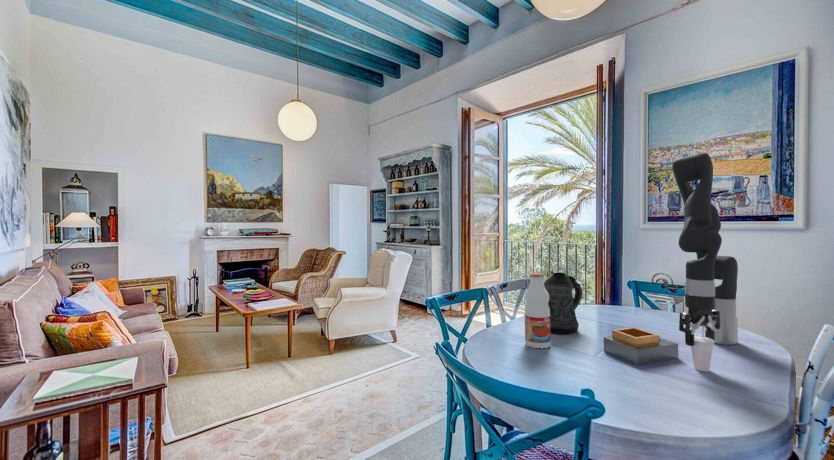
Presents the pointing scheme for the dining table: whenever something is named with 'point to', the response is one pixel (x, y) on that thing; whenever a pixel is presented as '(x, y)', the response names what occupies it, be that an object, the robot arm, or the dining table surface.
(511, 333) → the dining table surface
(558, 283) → the beer stein
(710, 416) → the dining table surface
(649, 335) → the grey flat boxy piece
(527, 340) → the fruit juice
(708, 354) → the smoothie
